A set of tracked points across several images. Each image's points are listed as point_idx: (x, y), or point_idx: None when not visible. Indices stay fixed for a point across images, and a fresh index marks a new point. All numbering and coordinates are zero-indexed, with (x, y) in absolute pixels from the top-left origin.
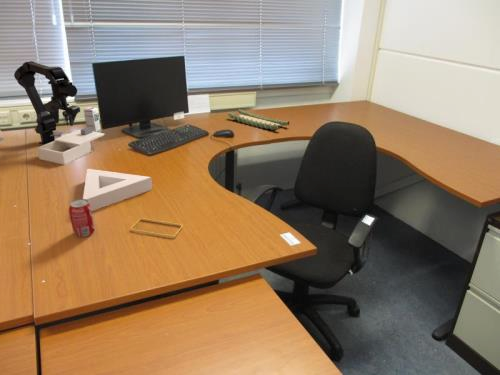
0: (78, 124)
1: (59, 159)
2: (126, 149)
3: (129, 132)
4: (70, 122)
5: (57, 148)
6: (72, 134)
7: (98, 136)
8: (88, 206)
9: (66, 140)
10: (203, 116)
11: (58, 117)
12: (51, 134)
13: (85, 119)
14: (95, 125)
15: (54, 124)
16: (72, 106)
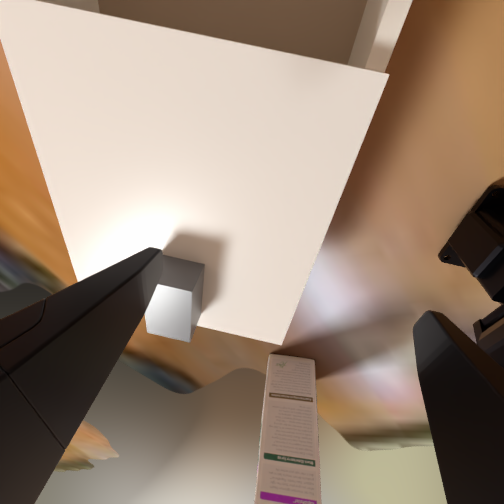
0: (406, 425)
1: None
2: (4, 223)
3: (162, 374)
4: (98, 276)
5: (350, 64)
6: (270, 252)
7: (71, 253)
8: None
9: (215, 75)
10: (85, 448)
11: (435, 423)
12: (496, 269)
13: (315, 437)
14: (264, 398)
15: (496, 354)
16: None
